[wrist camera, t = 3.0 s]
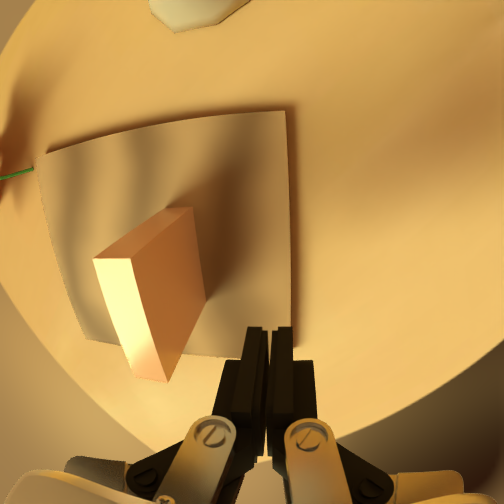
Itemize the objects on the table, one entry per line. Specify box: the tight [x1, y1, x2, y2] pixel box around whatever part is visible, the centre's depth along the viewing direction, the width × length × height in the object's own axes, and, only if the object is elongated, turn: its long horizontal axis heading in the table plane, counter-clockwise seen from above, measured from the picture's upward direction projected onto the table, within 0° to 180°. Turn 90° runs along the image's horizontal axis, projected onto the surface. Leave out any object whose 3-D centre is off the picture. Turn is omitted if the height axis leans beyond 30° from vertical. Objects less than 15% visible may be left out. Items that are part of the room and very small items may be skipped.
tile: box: [93, 206, 206, 383], centre depth 16 cm, size 2×7×8 cm, turn 4°
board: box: [35, 111, 291, 360], centre depth 20 cm, size 20×18×1 cm
